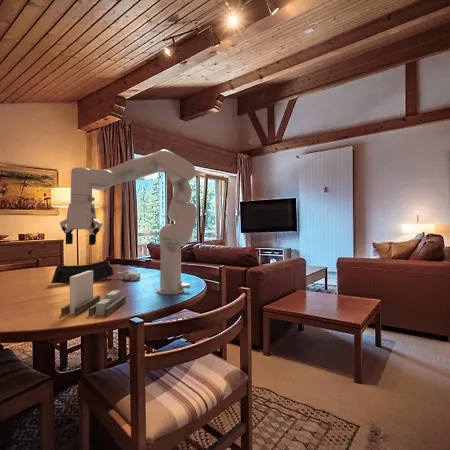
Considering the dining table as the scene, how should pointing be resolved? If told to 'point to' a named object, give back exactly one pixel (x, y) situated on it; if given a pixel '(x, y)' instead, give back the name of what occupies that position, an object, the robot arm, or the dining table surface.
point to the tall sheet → (80, 289)
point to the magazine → (99, 271)
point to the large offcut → (113, 296)
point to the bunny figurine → (130, 275)
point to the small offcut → (102, 306)
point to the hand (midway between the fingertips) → (80, 244)
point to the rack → (93, 306)
